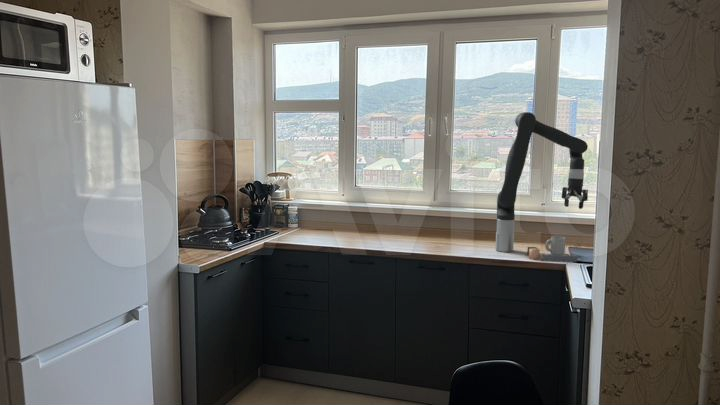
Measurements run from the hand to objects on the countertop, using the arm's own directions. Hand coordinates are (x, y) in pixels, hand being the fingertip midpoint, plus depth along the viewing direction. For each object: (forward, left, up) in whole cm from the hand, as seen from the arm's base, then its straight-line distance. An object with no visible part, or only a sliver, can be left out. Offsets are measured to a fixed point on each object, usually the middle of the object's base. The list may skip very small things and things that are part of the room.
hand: (573, 207), depth 284 cm
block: (-22, -13, -24) cm, 35 cm away
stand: (-10, -24, -24) cm, 35 cm away
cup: (-10, -8, -24) cm, 28 cm away
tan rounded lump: (-22, -22, -24) cm, 40 cm away
